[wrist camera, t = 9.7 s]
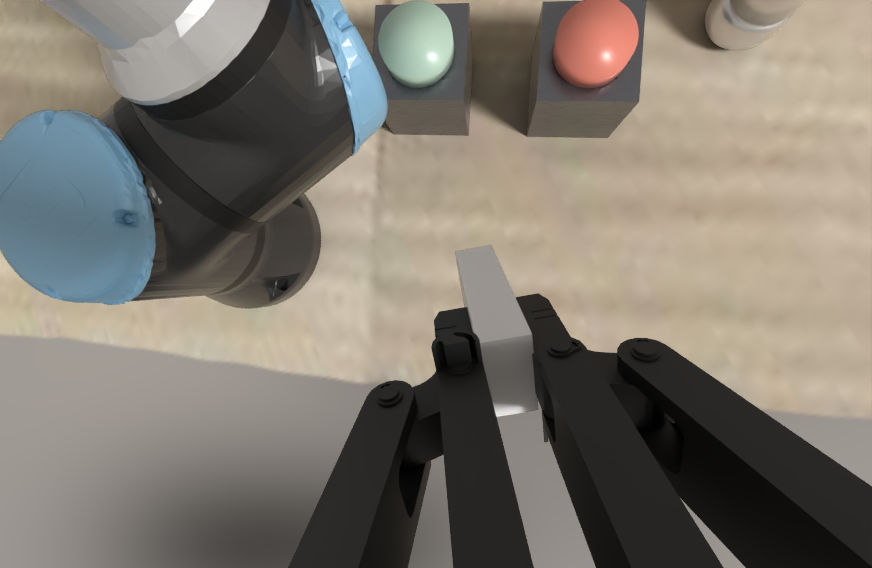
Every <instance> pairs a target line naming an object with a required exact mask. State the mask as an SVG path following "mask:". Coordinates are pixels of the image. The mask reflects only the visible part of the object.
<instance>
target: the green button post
mask: <svg viewBox="0 0 872 568" xmlns="http://www.w3.org/2000/svg"><path fill="white" fill-rule="evenodd" d="M434 5H436V6H437V7H439V8H440V9H441V10H442V11H443V12H444V13H445V14H446V16H447V17H448V19H449V21H450V24H451V28H452V34H453V40H454V58H453V61H452V64H451V66H450V68H449V70H448V71H447V73H446V74H445V75H444V79H440V80H439V81H437V82H435V83H434V84H432V85H429V86H426V87H420V88H415V87H409V86H406V85H403V84H401V83H399V82H398V81H397V80H396V79H394V78H393V76H392V75H391V74H390V72H389V71H388V69H387V67H386V65H385V63H384V61H383V59H382V56H381V54H380V51H379V45H378V37H379V31H380V28H381V25H382V23H383V21H384V19H385V18H386V17H387V15H388V14H389V13H390V12H391V11H392V10H393V9H394V8H396V7H397V6H399V5H376V7H375V26H374V46H373V62H374V64H375V66H376V68H377V71H378V73H379V75H380V78H381V80H382V83H383V86H384V89H385V92H386V96H387V103H388V111H387V116H386V118H385V122H386V123H387V125H388V126H389V128H390V129H391V131H392V132H393V134H411V135H469V119H470V102H471V85H472V67H473V50H472V36H471V21H470V7H469V3H457V4H434Z"/></svg>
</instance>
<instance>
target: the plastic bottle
mask: <svg viewBox="0 0 872 568" xmlns="http://www.w3.org/2000/svg"><path fill="white" fill-rule="evenodd" d="M804 1H805V0H712V1H711V3H710V5H709V7H708V9H707V12H706V15H705V28H706V31H707V33H708V36H709V37H710V39H711V40H712V41H713V42H714V43H715V44H716V45H718V46H719V47H722V48H724V49H729V50H745V49H749V48H752V47H755V46H756V45H758V44H760V43H762V42H763V41H765V40H767V39H769V38H770V37H772V36H773V35H774V34H776V33H777V32H778V31H779V30H780V29H781V28H782V26H783V25H784V24H785V23H786V22H787V21H788V20H789V19H790V17H791V16H792V15H793V13H794V12H795V11H796V9H797V8H798V7H799V6H800V5H801V4H802V3H803V2H804Z"/></svg>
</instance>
